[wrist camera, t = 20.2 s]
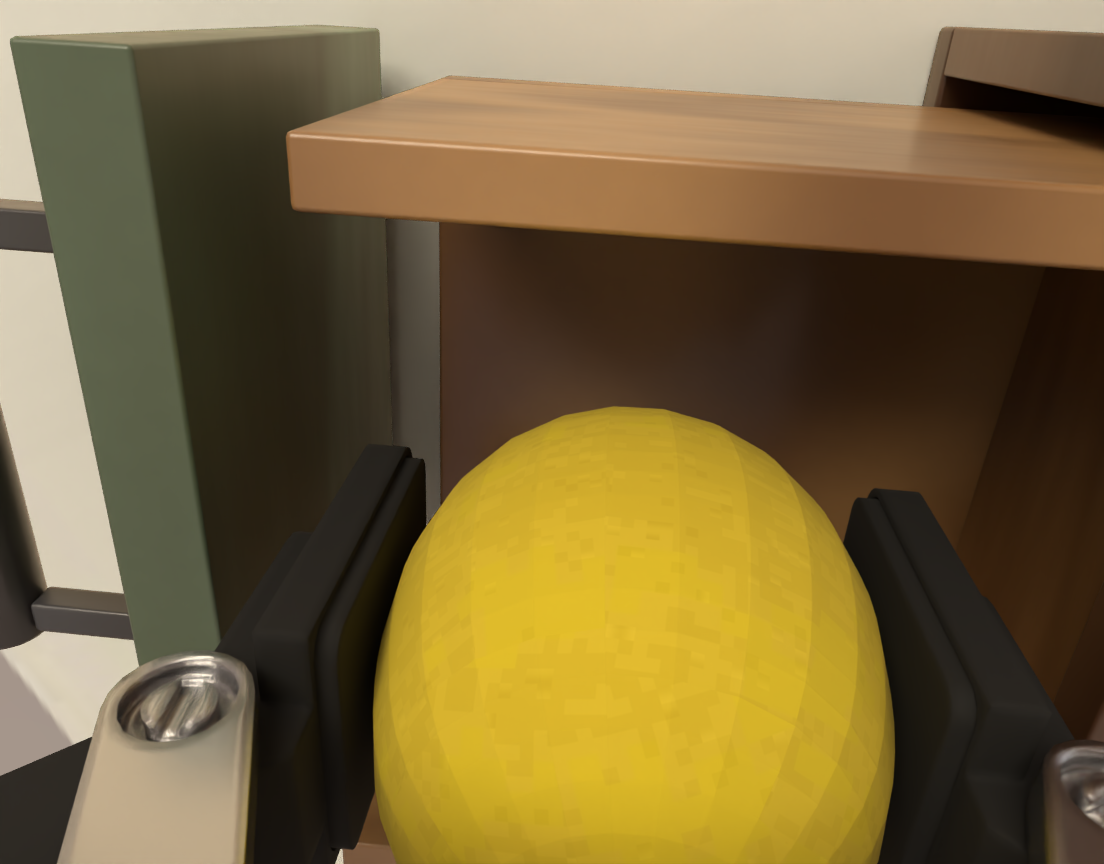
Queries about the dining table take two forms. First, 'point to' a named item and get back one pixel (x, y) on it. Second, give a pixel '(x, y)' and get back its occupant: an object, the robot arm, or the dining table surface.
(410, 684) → the lemon
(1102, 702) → the cabinet
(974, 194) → the drawer
